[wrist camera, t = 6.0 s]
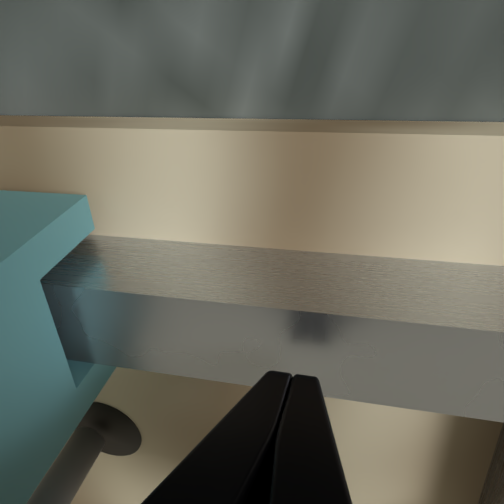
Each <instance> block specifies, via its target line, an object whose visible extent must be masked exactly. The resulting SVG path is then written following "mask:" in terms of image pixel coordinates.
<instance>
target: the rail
mask: <svg viewBox="0 0 504 504" xmlns="http://www.w3.org/2000/svg"><path fill="white" fill-rule="evenodd" d="M40 282H41V285H42V288H43V291H44V294H45V297H46V300H47V303H48V306H49V309H50V312H51V315H52V318H53V321H54V324H55V327H56V330H57V333H58V336H59V339H60V342H61V345H62V347H63V350H64V353H65V356H66V359H67V360H73V361H80V362H87V363H94V364H101V365H108V366H115V367H122V368H128V369H135V370H142V371H149V372H156V373H163V374H170V375H177V376H184V377H191V378H198V379H205V380H212V381H219V382H226V383H232V384H239V385H246V386H254V385H255V384H256V383H257V382H258V381H259V380H260V379H261V378H262V377H263V375H264V374H265V373H266V372H268V371H271V370H273V371H280V372H287V373H290V374H292V376H294V375H296V374H301V375H308V376H315V377H317V378H318V379H319V382H320V385H321V389H322V393H323V396H324V397H330V398H336V399H343V400H350V401H357V402H364V403H371V404H378V405H385V406H392V407H399V408H406V409H413V410H420V411H427V412H434V413H440V414H447V415H454V416H461V417H468V418H475V419H482V420H489V421H496V422H503V423H504V266H496V265H483V264H470V263H457V262H444V261H430V260H417V259H404V258H391V257H378V256H365V255H352V254H338V253H325V252H312V251H299V250H286V249H273V248H260V247H246V246H233V245H220V244H207V243H194V242H181V241H167V240H154V239H141V238H128V237H115V236H102V235H88V236H87V237H85V238H84V239H83V240H82V241H81V242H80V243H79V244H78V245H77V246H76V247H75V248H74V249H73V250H71V251H70V252H69V253H68V254H67V255H66V256H65V257H64V258H63V259H62V260H61V261H60V262H59V263H57V264H56V265H55V266H54V267H53V268H52V269H51V270H50V271H49V272H48V273H47V274H46V275H45V276H43V277H42V278H41V279H40Z"/></svg>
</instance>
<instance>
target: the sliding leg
mask: <svg viewBox="0 0 504 504" xmlns="http://www.w3.org/2000/svg"><path fill="white" fill-rule="evenodd" d="M94 229H95V227H94V223H93V219H92V215H91V211H90V207H89V203H88V199H87V195H78V194H60V193H42V192H24V191H6V190H0V504H26V503H27V504H71V502H72V500H73V498H74V497H75V495H76V493H77V491H78V490H79V488H80V486H81V485H82V483H83V481H84V479H85V478H86V476H87V474H88V473H89V471H90V469H91V467H92V466H93V464H94V462H95V460H96V459H97V457H98V455H99V454H100V452H101V450H102V448H103V447H104V445H105V441H104V439H103V437H102V436H101V435H100V434H99V433H98V432H97V431H95V430H93V429H91V428H88V427H78V428H77V426H78V425H79V423H80V422H81V420H82V418H83V417H84V415H85V414H86V412H87V411H88V409H89V408H90V406H91V405H92V403H93V402H94V400H95V399H96V397H97V396H98V394H99V393H100V391H101V390H102V388H103V387H104V385H105V384H106V382H107V381H108V379H109V378H110V376H111V375H112V373H113V372H114V370H115V369H116V367H115V366H108V365H101V364H94V363H87V362H80V361H73V360H67V359H66V356H65V353H64V350H63V347H62V345H61V342H60V339H59V336H58V333H57V330H56V327H55V324H54V321H53V318H52V315H51V312H50V309H49V306H48V303H47V300H46V297H45V294H44V291H43V288H42V285H41V282H40V279H41V278H42V277H43V276H45V275H46V274H47V273H48V272H49V271H50V270H51V269H52V268H53V267H54V266H55V265H56V264H57V263H59V262H60V261H61V260H62V259H63V258H64V257H65V256H66V255H67V254H68V253H69V252H70V251H71V250H73V249H74V248H75V247H76V246H77V245H78V244H79V243H80V242H81V241H82V240H83V239H84V238H85V237H87V236H88V235H89V234H90V233H91V232H92V231H93V230H94ZM75 429H76V430H75ZM73 432H74V433H73ZM71 435H72V436H71ZM69 438H70V439H69ZM67 441H68V442H67ZM65 444H66V445H65ZM63 447H64V448H63ZM61 450H62V451H61ZM59 453H60V454H59ZM57 456H58V457H57ZM55 459H56V460H55ZM53 462H54V463H53ZM51 465H52V466H51ZM49 468H50V469H49ZM47 471H48V472H47ZM45 474H46V475H45ZM43 477H44V478H43ZM41 480H42V481H41ZM40 482H41V483H40ZM39 483H40V484H39ZM38 485H39V486H38ZM37 486H38V487H37ZM36 488H37V489H36ZM34 491H35V492H34ZM32 494H33V495H32ZM30 497H31V498H30ZM28 500H29V501H28Z"/></svg>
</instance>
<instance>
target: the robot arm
mask: <svg viewBox="0 0 504 504" xmlns="http://www.w3.org/2000/svg"><path fill="white" fill-rule="evenodd" d="M141 504H352V500H351V497H350V493H349V489H348V486H347V482H346V478H345V474H344V471H343V467H342V463H341V460H340V456H339V452H338V448H337V445H336V441H335V437H334V434H333V430H332V426H331V422H330V419H329V415H328V411H327V408H326V404H325V400H324V396H323V393H322V389H321V385H320V382H319V379H318V378H317V377H315V376H308V375H301V374H296V375H294V376H292V374H290V373H287V372H280V371H273V370H271V371H268V372H266V373H265V374H264V375H263V377H262V378H261V379H260V380H259V381H258V382H257V383H256V384H255V385H254V386H253V387H252V388H251V389H250V390H249V391H248V392H247V393H246V394H245V395H244V396H243V397H242V398H241V400H240V401H239V402H238V403H237V404H236V405H235V406H234V407H233V408H232V409H231V410H230V411H229V412H228V413H227V414H226V415H225V416H224V417H223V418H222V419H221V420H220V421H219V422H218V424H217V425H216V426H215V427H214V428H213V429H212V430H211V431H210V432H209V433H208V434H207V435H206V436H205V437H204V438H203V439H202V440H201V441H200V442H199V443H198V444H197V445H196V447H195V448H194V449H193V450H192V451H191V452H190V453H189V454H188V455H187V456H186V457H185V458H184V459H183V460H182V461H181V462H180V463H179V464H178V465H177V466H176V467H175V468H174V469H173V471H172V472H171V473H170V474H169V475H168V476H167V477H166V478H165V479H164V480H163V481H162V482H161V483H160V484H159V485H158V486H157V487H156V488H155V489H154V490H153V491H152V492H151V493H150V495H149V496H148V497H147V498H146V499H145V500H144V501H143V502H142V503H141Z"/></svg>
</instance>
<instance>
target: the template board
mask: <svg viewBox="0 0 504 504" xmlns="http://www.w3.org/2000/svg"><path fill="white" fill-rule="evenodd" d="M0 190H6V191H24V192H42V193H60V194H78V195H87V199H88V203H89V207H90V211H91V215H92V219H93V223H94V227H95V229H94V230H93V231H92V232H91V233H90V234H89V235H102V236H115V237H128V238H141V239H154V240H167V241H181V242H194V243H207V244H220V245H233V246H246V247H260V248H273V249H286V250H299V251H312V252H325V253H338V254H352V255H365V256H378V257H391V258H404V259H417V260H430V261H444V262H457V263H470V264H483V265H496V266H504V122H453V121H378V120H304V119H229V118H155V117H80V116H5V115H0ZM252 387H253V386H246V385H239V384H232V383H226V382H219V381H212V380H205V379H198V378H191V377H184V376H177V375H170V374H163V373H156V372H149V371H142V370H135V369H128V368H122V367H116V369H115V370H114V372H113V373H112V375H111V376H110V378H109V379H108V381H107V382H106V384H105V385H104V387H103V388H102V390H101V391H100V393H99V394H98V396H97V397H96V399H95V400H94V402H93V403H92V405H91V406H90V408H89V409H88V411H87V412H86V414H85V415H84V417H83V418H82V420H81V422H80V423H79V425H78V426H77V428H78V427H88V428H91V429H93V430H95V431H97V432H98V433H99V434H100V435H101V436H102V437H103V439H104V441H105V445H104V447H103V448H102V450H101V452H100V454H99V455H98V457H97V459H96V460H95V462H94V464H93V466H92V467H91V469H90V471H89V473H88V474H87V476H86V478H85V479H84V481H83V483H82V485H81V486H80V488H79V490H78V491H77V493H76V495H75V497H74V498H73V500H72V502H71V504H141V503H142V502H143V501H144V500H145V499H146V498H147V497H148V496H149V495H150V493H151V492H152V491H153V490H154V489H155V488H156V487H157V486H158V485H159V484H160V483H161V482H162V481H163V480H164V479H165V478H166V477H167V476H168V475H169V474H170V473H171V472H172V471H173V469H174V468H175V467H176V466H177V465H178V464H179V463H180V462H181V461H182V460H183V459H184V458H185V457H186V456H187V455H188V454H189V453H190V452H191V451H192V450H193V449H194V448H195V447H196V445H197V444H198V443H199V442H200V441H201V440H202V439H203V438H204V437H205V436H206V435H207V434H208V433H209V432H210V431H211V430H212V429H213V428H214V427H215V426H216V425H217V424H218V422H219V421H220V420H221V419H222V418H223V417H224V416H225V415H226V414H227V413H228V412H229V411H230V410H231V409H232V408H233V407H234V406H235V405H236V404H237V403H238V402H239V401H240V400H241V398H242V397H243V396H244V395H245V394H246V393H247V392H248V391H249V390H250V389H251V388H252ZM324 400H325V404H326V408H327V411H328V415H329V419H330V422H331V426H332V430H333V434H334V437H335V441H336V445H337V448H338V452H339V456H340V460H341V463H342V467H343V471H344V474H345V478H346V482H347V486H348V489H349V493H350V497H351V500H352V504H478V501H479V498H480V495H481V492H482V489H483V486H484V482H485V479H486V476H487V473H488V470H489V467H490V463H491V460H492V457H493V454H494V451H495V448H496V445H497V441H498V438H499V435H500V432H501V429H502V426H503V422H496V421H489V420H482V419H475V418H468V417H461V416H454V415H447V414H440V413H434V412H427V411H420V410H413V409H406V408H399V407H392V406H385V405H378V404H371V403H364V402H357V401H350V400H343V399H336V398H330V397H324ZM75 430H76V429H75ZM73 433H74V432H73ZM71 436H72V435H71ZM69 439H70V438H69ZM67 442H68V441H67ZM65 445H66V444H65ZM63 448H64V447H63ZM61 451H62V450H61ZM59 454H60V453H59ZM57 457H58V456H57ZM55 460H56V459H55ZM53 463H54V462H53ZM51 466H52V465H51ZM49 469H50V468H49ZM47 472H48V471H47ZM45 475H46V474H45ZM43 478H44V477H43ZM41 481H42V480H41ZM40 483H41V482H40ZM40 483H39V484H40ZM38 486H39V485H38ZM38 486H37V487H38ZM36 489H37V488H36ZM34 492H35V491H34ZM32 495H33V494H32ZM30 498H31V497H30Z"/></svg>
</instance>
